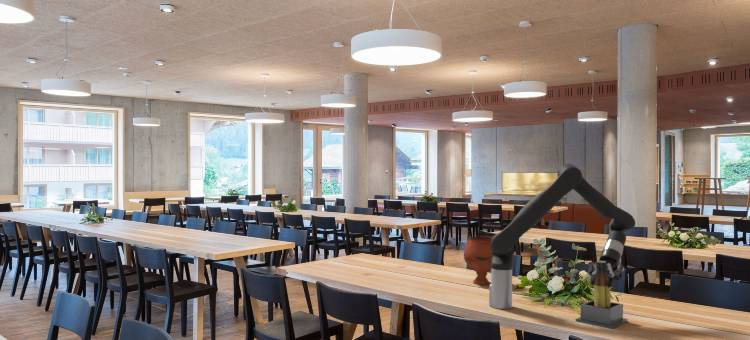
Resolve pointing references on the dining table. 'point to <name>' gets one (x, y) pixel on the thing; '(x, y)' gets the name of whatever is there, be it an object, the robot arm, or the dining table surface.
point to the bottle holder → (602, 315)
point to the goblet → (479, 257)
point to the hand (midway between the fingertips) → (600, 285)
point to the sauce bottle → (601, 286)
